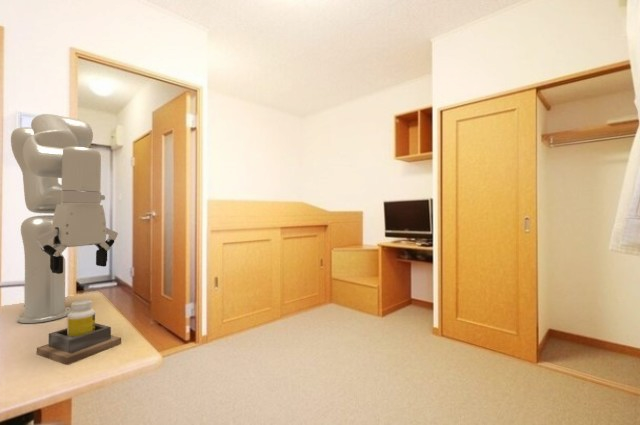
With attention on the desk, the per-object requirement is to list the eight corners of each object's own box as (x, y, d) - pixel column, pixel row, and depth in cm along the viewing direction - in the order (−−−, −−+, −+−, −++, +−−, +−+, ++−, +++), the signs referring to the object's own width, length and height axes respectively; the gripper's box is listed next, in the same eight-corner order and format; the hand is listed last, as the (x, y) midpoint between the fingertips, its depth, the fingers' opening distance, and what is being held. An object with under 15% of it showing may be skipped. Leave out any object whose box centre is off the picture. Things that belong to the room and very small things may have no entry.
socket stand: (36, 354, 73) (36, 335, 73) (91, 335, 84) (91, 318, 84) (67, 365, 68) (67, 344, 68) (121, 343, 79) (121, 325, 79)
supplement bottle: (97, 341, 76) (97, 301, 76) (69, 349, 72) (69, 306, 72) (91, 335, 80) (92, 297, 80) (64, 342, 76) (65, 302, 76)
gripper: (107, 199, 85) (106, 262, 85) (28, 197, 69) (27, 274, 69) (126, 200, 82) (125, 265, 82) (47, 198, 66) (46, 278, 66)
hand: (80, 269), depth 76 cm, fingers open, 9 cm apart
